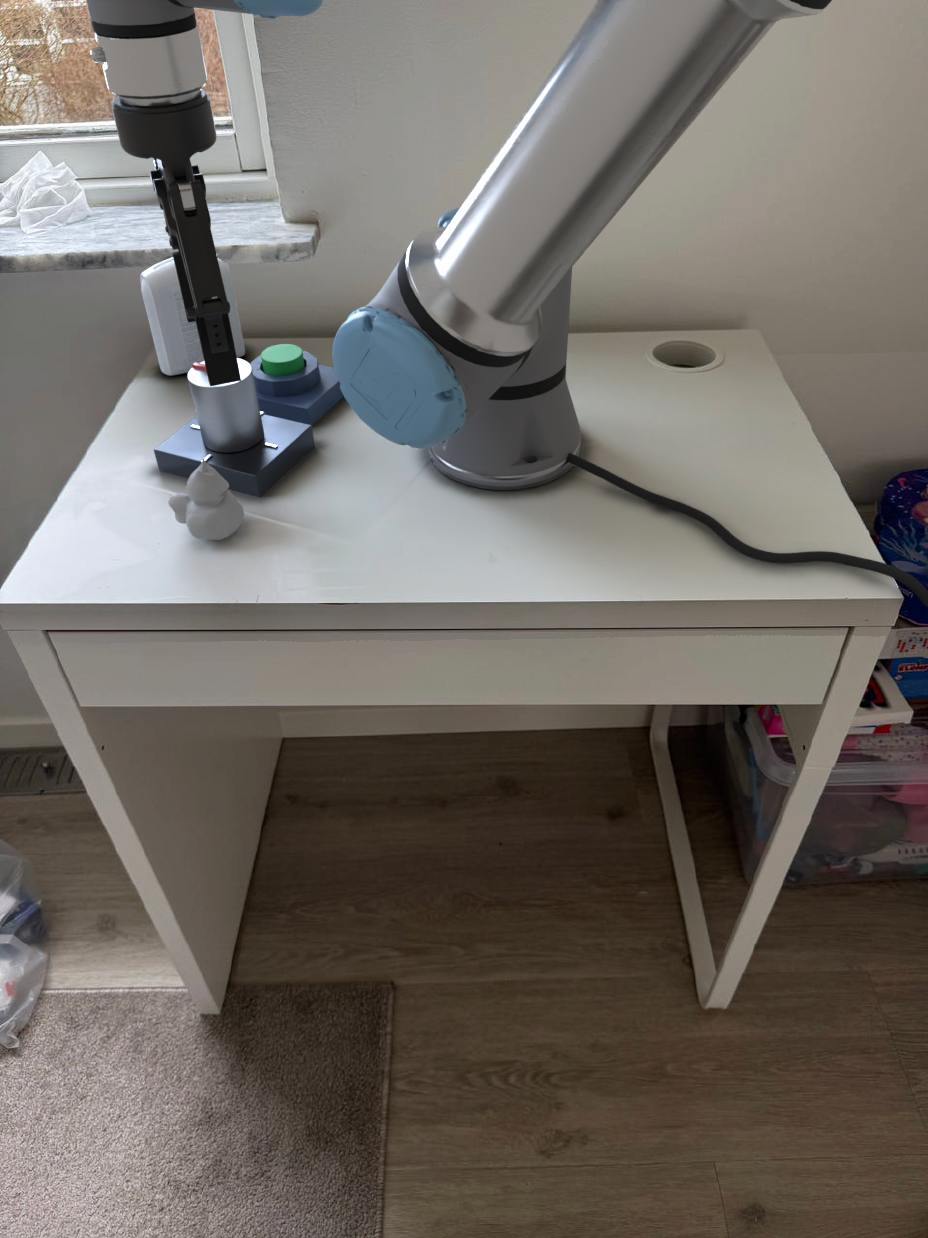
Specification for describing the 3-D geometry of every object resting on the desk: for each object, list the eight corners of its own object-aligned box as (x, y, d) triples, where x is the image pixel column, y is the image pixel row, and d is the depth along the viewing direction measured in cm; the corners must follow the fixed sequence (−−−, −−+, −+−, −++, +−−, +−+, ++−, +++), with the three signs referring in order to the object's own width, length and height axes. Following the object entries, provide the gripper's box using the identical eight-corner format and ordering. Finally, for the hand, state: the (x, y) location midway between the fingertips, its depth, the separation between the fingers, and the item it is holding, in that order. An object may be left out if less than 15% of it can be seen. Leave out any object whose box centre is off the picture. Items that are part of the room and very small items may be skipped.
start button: (312, 362, 103) (310, 347, 101) (290, 380, 100) (287, 365, 98) (278, 355, 104) (275, 340, 103) (255, 373, 101) (252, 358, 100)
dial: (275, 428, 95) (263, 360, 90) (241, 458, 91) (226, 389, 86) (226, 416, 96) (212, 349, 92) (190, 445, 92) (173, 377, 88)
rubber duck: (238, 552, 84) (220, 476, 78) (166, 548, 84) (144, 472, 79) (255, 516, 88) (239, 441, 82) (187, 512, 88) (167, 438, 83)
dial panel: (315, 445, 97) (312, 423, 95) (259, 498, 90) (254, 475, 88) (219, 422, 101) (214, 400, 99) (158, 471, 94) (151, 448, 92)
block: (352, 388, 105) (348, 355, 103) (309, 427, 99) (304, 393, 97) (269, 371, 109) (264, 338, 106) (223, 407, 103) (216, 373, 100)
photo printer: (237, 343, 114) (217, 240, 106) (252, 356, 112) (232, 251, 104) (155, 367, 110) (128, 261, 102) (168, 381, 108) (141, 274, 99)
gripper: (97, 62, 81) (155, 302, 95) (124, 142, 63) (190, 420, 78) (185, 54, 83) (230, 290, 97) (235, 129, 65) (280, 403, 80)
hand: (212, 348), depth 87 cm, fingers open, 13 cm apart
